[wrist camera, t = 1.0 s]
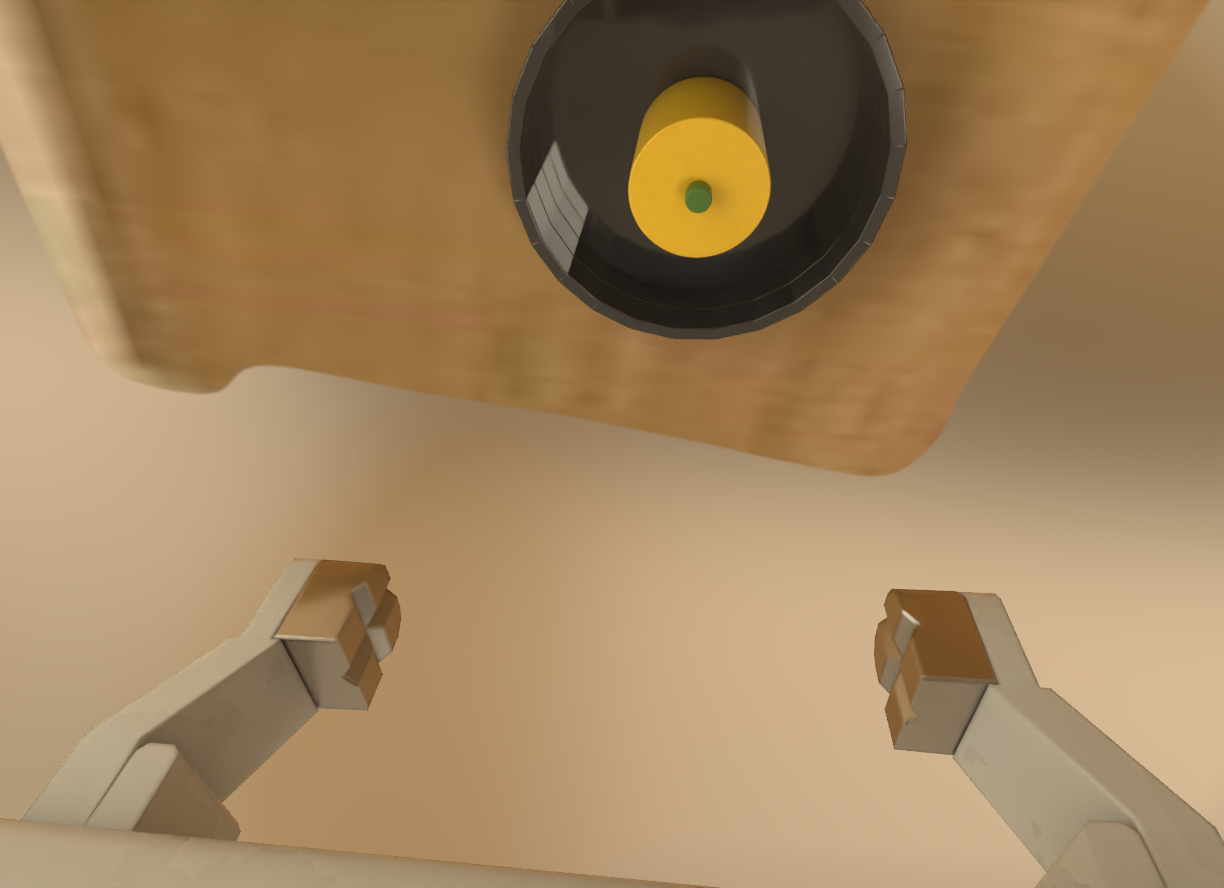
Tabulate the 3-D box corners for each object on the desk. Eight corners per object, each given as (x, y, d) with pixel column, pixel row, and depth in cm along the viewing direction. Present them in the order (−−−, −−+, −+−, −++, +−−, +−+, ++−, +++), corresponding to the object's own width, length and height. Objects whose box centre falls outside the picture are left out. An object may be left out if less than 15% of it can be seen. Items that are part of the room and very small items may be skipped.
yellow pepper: (637, 77, 29) (623, 126, 24) (768, 74, 29) (780, 123, 24) (640, 203, 33) (628, 267, 28) (756, 202, 32) (765, 267, 27)
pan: (501, -67, 27) (475, -55, 24) (926, -90, 25) (956, -79, 22) (546, 296, 37) (532, 337, 34) (850, 298, 35) (863, 342, 32)
